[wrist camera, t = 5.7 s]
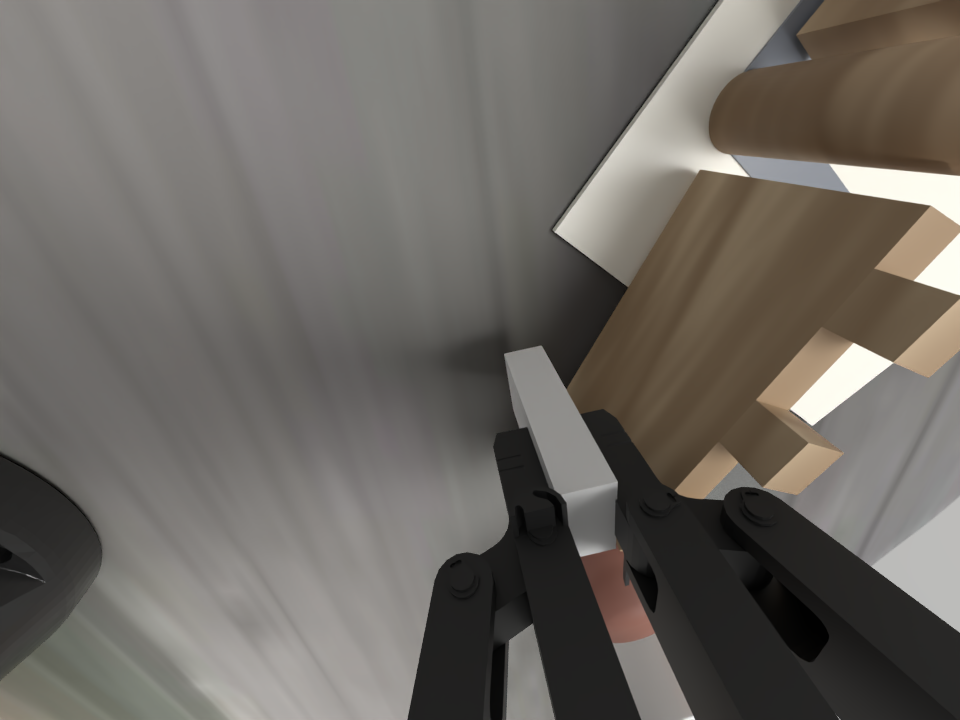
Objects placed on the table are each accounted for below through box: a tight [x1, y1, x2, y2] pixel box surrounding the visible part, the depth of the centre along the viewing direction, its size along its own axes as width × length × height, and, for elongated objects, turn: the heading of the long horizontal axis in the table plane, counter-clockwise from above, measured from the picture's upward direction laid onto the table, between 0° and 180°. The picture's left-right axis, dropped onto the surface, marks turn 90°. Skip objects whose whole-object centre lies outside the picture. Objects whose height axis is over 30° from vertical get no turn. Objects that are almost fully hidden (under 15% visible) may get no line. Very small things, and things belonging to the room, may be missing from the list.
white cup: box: [613, 633, 695, 720], centre depth 21 cm, size 8×8×10 cm
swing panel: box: [566, 169, 960, 643], centre depth 13 cm, size 2×13×8 cm, turn 158°
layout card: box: [553, 0, 960, 426], centre depth 15 cm, size 20×19×1 cm
